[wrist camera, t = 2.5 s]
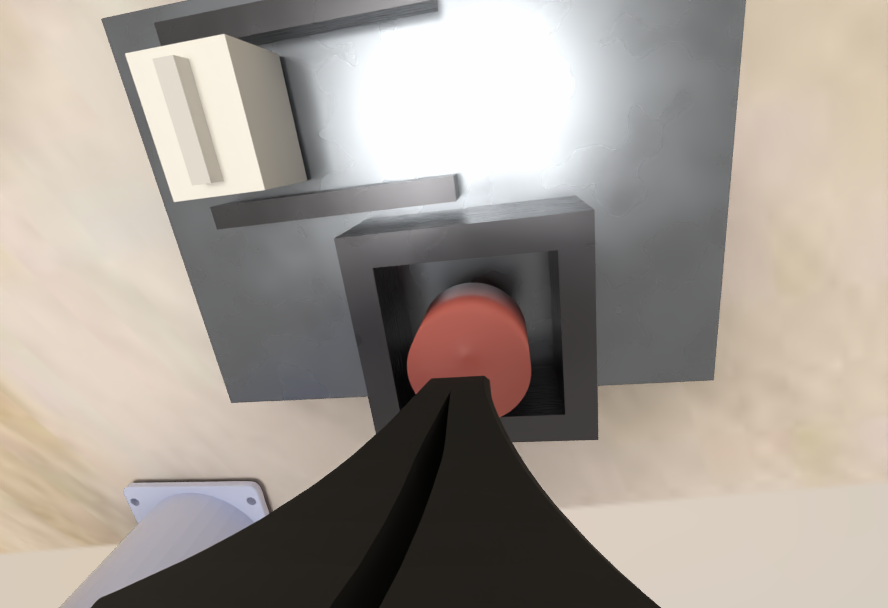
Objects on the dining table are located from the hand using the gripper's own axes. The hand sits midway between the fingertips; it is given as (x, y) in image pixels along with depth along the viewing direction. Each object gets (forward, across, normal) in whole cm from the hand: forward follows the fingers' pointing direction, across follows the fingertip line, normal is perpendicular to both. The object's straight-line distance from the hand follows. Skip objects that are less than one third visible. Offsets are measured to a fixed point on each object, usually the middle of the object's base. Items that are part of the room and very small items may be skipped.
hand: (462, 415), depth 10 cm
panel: (+9, +2, -4) cm, 9 cm away
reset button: (+5, 0, 0) cm, 5 cm away
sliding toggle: (+7, +7, -7) cm, 12 cm away
